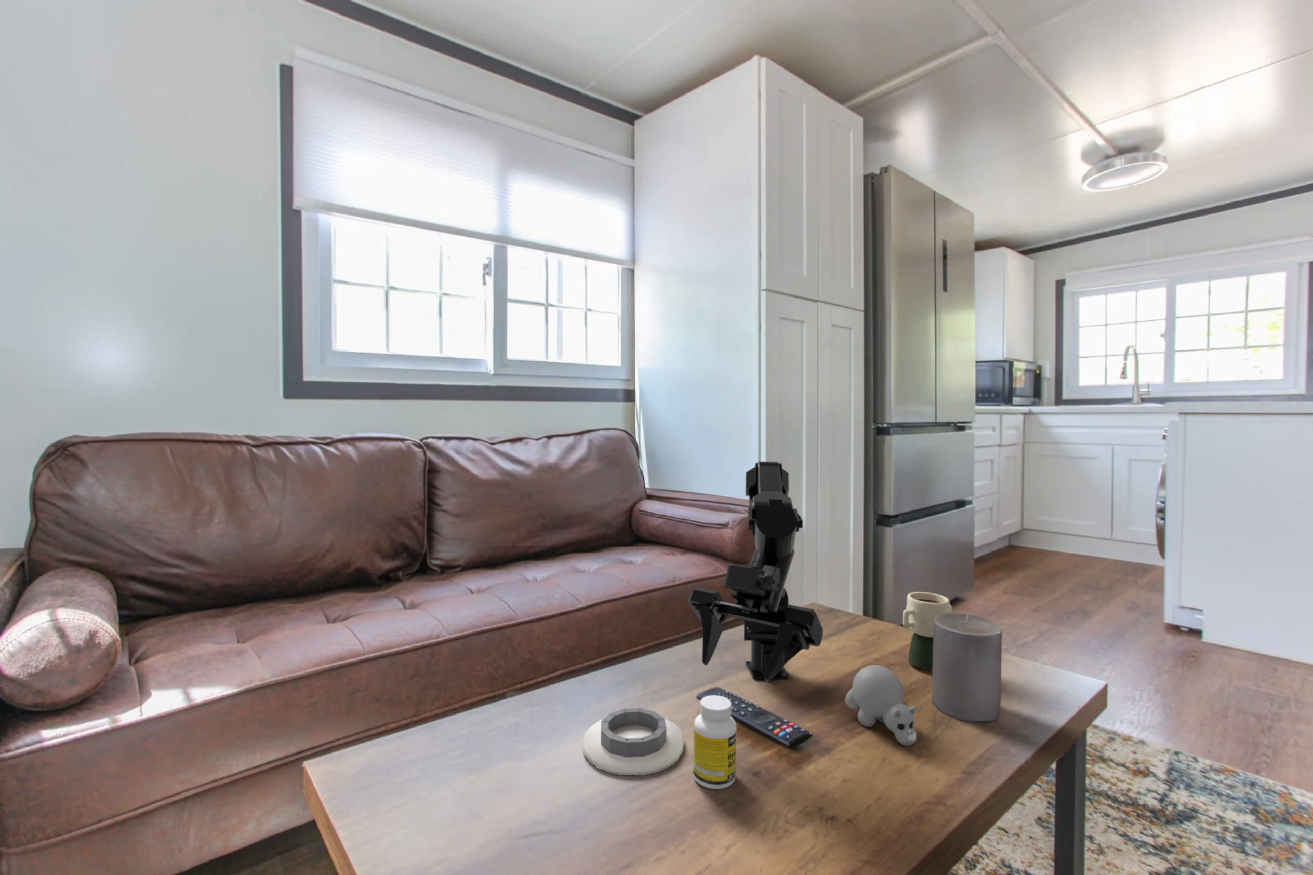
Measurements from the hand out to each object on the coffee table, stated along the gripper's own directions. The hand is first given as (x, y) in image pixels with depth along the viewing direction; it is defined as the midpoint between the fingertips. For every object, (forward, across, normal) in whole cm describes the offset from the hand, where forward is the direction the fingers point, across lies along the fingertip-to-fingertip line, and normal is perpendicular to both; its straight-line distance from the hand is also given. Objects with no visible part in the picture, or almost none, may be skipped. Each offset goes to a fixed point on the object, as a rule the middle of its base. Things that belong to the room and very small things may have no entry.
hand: (734, 671), depth 79 cm
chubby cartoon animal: (-5, +15, +22) cm, 27 cm away
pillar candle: (-15, +25, +32) cm, 43 cm away
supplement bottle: (+12, 0, +5) cm, 13 cm away
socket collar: (+12, -13, +5) cm, 18 cm away
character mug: (-24, +17, +41) cm, 50 cm away
